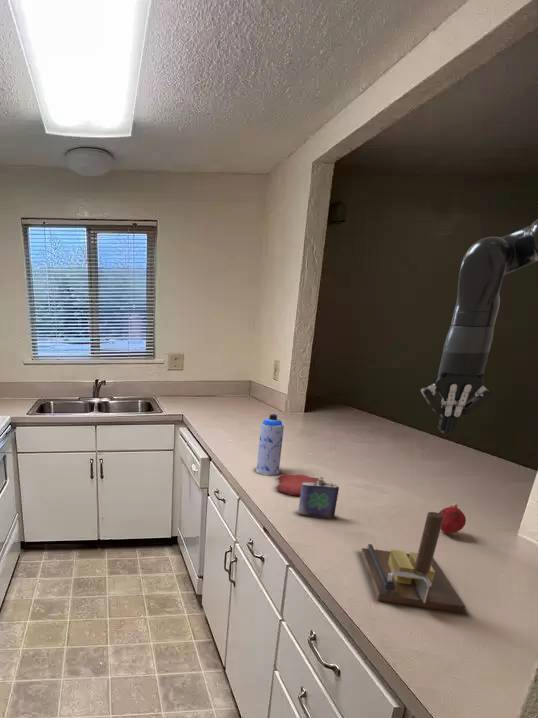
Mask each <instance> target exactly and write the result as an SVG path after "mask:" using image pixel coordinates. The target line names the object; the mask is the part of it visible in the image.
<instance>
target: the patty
mask: <svg viewBox="0 0 538 718" xmlns="http://www.w3.org/2000/svg"><path fill="white" fill-rule="evenodd" d="M318 479H319V477H314V476H309V475H305V474H291V473H283V474H279V475H278V480H279V481H278V483H279V484H277V486H276V489H277V491H278V492H280V493H282V494H284V495H288V496H295V497H300V496H301V489H302V484H303V483H317V481H318Z"/></svg>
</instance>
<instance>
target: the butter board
mask: <svg viewBox="0 0 538 718" xmlns="http://www.w3.org/2000/svg"><path fill="white" fill-rule="evenodd" d="M360 555H361V557H362V560H363V563H364V566H365V568H366V571H367V575H368V577H369V579H370V582H371V586H372V588H373V590H374V594H375V596H376V599H377V601H381V602H386V603H387V602H388V603H393V604H400V605H406V606H414V607H420V608H426V609H433V610H440V611H446V612H453V613H459V614H464V612H465V609H466V605H465V604H464V603H463V601H462V599H461V598H460V596H459V595H458V593H457V592H456V590H455V588H454V587H453V585H452V584H451V583H450V581H449V579H448V578H447V577H446V575H445V573H444V572H443V570H442V569H441V567H440V566H439V564H438V562H437V561H436V560H435V558H434V557H433V560H432V564H431V568H430V571H429V573H426V575H427V576H428V578H429V580H430V582H431V583H432V585H431V586H430V587H429V590H428V594H427V598H426V602H425V603H423V601H422V599H421V597H420V595H419V593H418V592H417V590H416V588H415V587H416V583H417V579H416V578H409V577H401V576H394V575H393V578H392V580H393V582H394V584H395V590H388V589H385V588H384V585H383V583H382V580H383V578H388V574H389V573H391V571H399V572H407V573H414V574H419V572H418V571H416V570H415V569H414V567H415V563H416V559H417V555H418V552H413V551H409V553H406V552H405V550H398V549H397V550H396V549H390V551H389V550H382V549H375V548H374V546H373V544H372V543H368V544H367V548H366V547H362V548H361V551H360Z"/></svg>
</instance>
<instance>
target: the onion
mask: <svg viewBox="0 0 538 718" xmlns="http://www.w3.org/2000/svg"><path fill="white" fill-rule="evenodd" d="M458 506H459V505H458V504H457V503H452V504H451V506H447V507H445V508H443V509H441V510H440V511H439V512H438V513H440V514H442V515H443V516H444V518H443V522H442V525H441V529H440V531H442V532H443V533H444V534H446V535H450V534H454V533H457V532H461V530H462V529H464V527H465V525H466V522H467V518H466V516H465V513H464V512H463V511H462V510H461V509H460V508H459V507H458Z"/></svg>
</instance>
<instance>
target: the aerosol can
mask: <svg viewBox="0 0 538 718" xmlns="http://www.w3.org/2000/svg"><path fill="white" fill-rule="evenodd" d="M284 428H285V425H284V423H283V421H282V420H281V419H279V418H278V415H277V414H275V413H271V414H269V417H267V418H266V419H264V420H263V421H262V422H261V424H260V430H259V431H260V432H259V441H258V451H257V463H256V468H255V471H256V473H258V474H261V475H265V476H276V475H280V465H281V457H282V447H283V438H284V430H285V429H284Z"/></svg>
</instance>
